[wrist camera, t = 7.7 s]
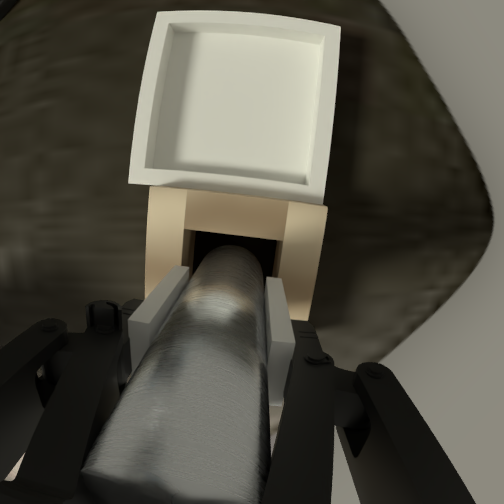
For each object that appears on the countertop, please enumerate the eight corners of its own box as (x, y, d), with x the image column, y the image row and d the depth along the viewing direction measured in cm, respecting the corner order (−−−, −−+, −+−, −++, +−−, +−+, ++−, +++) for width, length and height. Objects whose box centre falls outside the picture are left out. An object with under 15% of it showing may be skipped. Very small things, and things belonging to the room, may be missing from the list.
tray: (166, 26, 18) (157, 12, 16) (332, 40, 18) (340, 26, 16) (142, 182, 21) (128, 183, 18) (315, 201, 21) (322, 204, 19)
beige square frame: (168, 184, 21) (149, 186, 17) (315, 201, 21) (328, 207, 17) (161, 317, 23) (145, 343, 19) (292, 334, 23) (298, 363, 19)
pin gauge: (201, 240, 19) (49, 438, 4) (266, 249, 19) (293, 487, 4) (196, 301, 20) (97, 530, 5) (258, 309, 20) (258, 561, 5)
